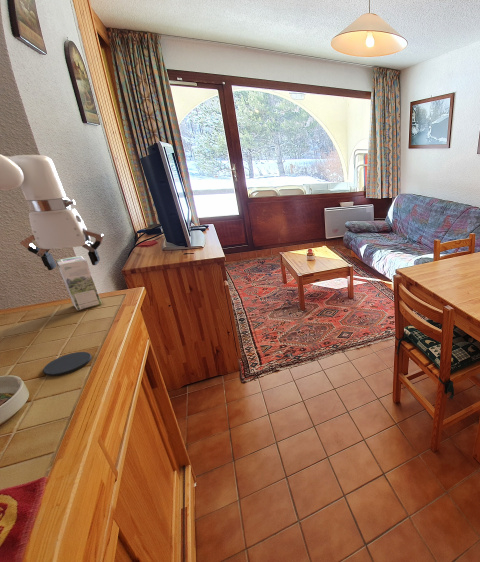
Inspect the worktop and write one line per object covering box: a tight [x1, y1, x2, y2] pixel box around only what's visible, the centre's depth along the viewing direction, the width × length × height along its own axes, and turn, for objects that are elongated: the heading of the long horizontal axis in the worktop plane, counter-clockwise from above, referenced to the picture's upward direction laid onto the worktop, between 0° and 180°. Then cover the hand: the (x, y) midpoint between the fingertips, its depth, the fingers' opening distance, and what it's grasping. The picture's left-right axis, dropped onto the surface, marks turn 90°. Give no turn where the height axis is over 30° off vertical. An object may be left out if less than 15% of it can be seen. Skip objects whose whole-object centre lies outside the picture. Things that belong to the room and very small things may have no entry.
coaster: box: [42, 351, 92, 377], centre depth 67 cm, size 8×8×1 cm
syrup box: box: [55, 255, 103, 311], centre depth 90 cm, size 6×6×14 cm
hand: (74, 266), depth 88 cm, fingers open, 9 cm apart
